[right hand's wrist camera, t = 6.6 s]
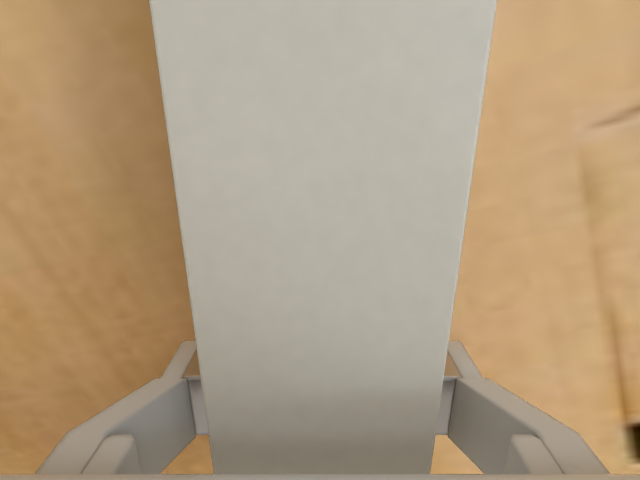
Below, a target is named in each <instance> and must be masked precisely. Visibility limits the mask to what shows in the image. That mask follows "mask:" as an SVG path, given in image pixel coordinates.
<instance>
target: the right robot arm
mask: <svg viewBox="0 0 640 480" xmlns="http://www.w3.org/2000/svg"><path fill="white" fill-rule="evenodd" d="M195 435H209V434H208V427H207V420H206V413H205V405H204V398H203V391H202V383H201V376H200V369H199V361H198V354H197V347H196V340H185V341H183V342H182V343H181V344H180V346H179V348H178V349H177V351H176V353H175V354H174V356H173V358H172V360H171V361H170V363H169V365H168V366H167V368H166V370H165V371H164V373H163V375H162V376H161V378H155V379H153V380H151V381H150V382H148V383H147V384H145V385H143V386H142V387H140V388H138V389H137V390H135V391H134V392H132V393H130V394H129V395H127V396H125V397H124V398H122V399H121V400H119V401H117V402H116V403H114V404H112V405H111V406H109V407H108V408H106V409H104V410H103V411H101V412H99V413H98V414H96V415H95V416H93V417H91V418H90V419H88V420H87V421H85V422H83V423H82V424H80V425H78V426H77V427H75V428H74V429H72V430H70V431H69V432H67V433H66V434H65V435H64V437H63V438H62V439H61V441H60V442H59V443H58V444H57V446H56V447H55V448H54V450H53V451H52V452H51V453H50V455H49V456H48V457H47V459H46V460H45V461H44V462H43V464H42V465H41V466H40V467H39V469H38V470H37V471H36V473H35V474H0V480H640V474H610V473H609V471H608V470H607V469H606V468H605V466H604V465H603V464H602V462H601V461H600V460H599V459H598V457H597V456H596V455H595V454H594V452H593V451H592V450H591V449H590V447H589V446H588V445H587V443H586V442H585V441H584V440H583V438H582V437H581V436H580V435H579V433H577V432H575V431H574V430H572V429H571V428H569V427H567V426H566V425H564V424H562V423H561V422H559V421H558V420H556V419H554V418H553V417H551V416H549V415H548V414H546V413H544V412H543V411H541V410H540V409H538V408H536V407H535V406H533V405H531V404H530V403H528V402H526V401H525V400H523V399H522V398H520V397H518V396H517V395H515V394H513V393H512V392H510V391H508V390H507V389H505V388H504V387H502V386H500V385H499V384H497V383H495V382H494V381H492V380H491V379H489V378H483V377H482V376H481V374H480V372H479V371H478V369H477V367H476V366H475V364H474V362H473V361H472V359H471V358H470V356H469V354H468V353H467V351H466V349H465V348H464V346H463V344H462V343H461V342H460V341H459V340H449V343H448V350H447V357H446V364H445V371H444V378H443V385H442V392H441V399H440V406H439V414H438V421H437V428H436V435H448V437H449V438H450V439H451V440H452V441H453V442H454V443H455V444H456V445H457V446H458V447H459V448H460V449H461V451H462V452H463V453H464V454H465V455H466V456H467V457H468V458H469V459H470V460H471V461H472V462H473V463H474V464H475V465H476V466H477V467H478V468H479V469H480V470H481V471H482V472H483V473H484V474H160V473H161V472H162V471H163V470H164V469H165V468H166V467H167V466H168V465H169V463H170V462H171V461H172V460H173V459H174V458H175V457H176V456H177V455H178V454H179V453H180V452H181V451H182V450H183V449H184V448H185V447H186V446H187V445H188V444H189V443H190V442H191V441H192V440H193V439H194V438H195V437H196V436H195Z"/></svg>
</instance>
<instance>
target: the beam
mask: <svg viewBox="0 0 640 480" xmlns="http://www.w3.org/2000/svg"><path fill="white" fill-rule="evenodd" d="M149 4H150V11H151V18H152V26H153V33H154V40H155V48H156V55H157V62H158V70H159V77H160V84H161V91H162V99H163V106H164V113H165V121H166V128H167V135H168V143H169V150H170V157H171V164H172V172H173V179H174V186H175V194H176V201H177V208H178V216H179V223H180V230H181V237H182V245H183V252H184V259H185V267H186V274H187V281H188V289H189V296H190V303H191V310H192V318H193V325H194V332H195V340H196V347H197V354H198V361H199V369H200V376H201V383H202V391H203V398H204V405H205V413H206V420H207V427H208V434H209V442H210V449H211V456H212V464H213V471H214V474H430V470H431V463H432V456H433V449H434V442H435V435H436V428H437V421H438V414H439V406H440V399H441V392H442V385H443V378H444V371H445V364H446V357H447V350H448V343H449V336H450V329H451V322H452V315H453V308H454V301H455V294H456V286H457V279H458V272H459V265H460V258H461V251H462V244H463V237H464V230H465V223H466V216H467V209H468V202H469V195H470V188H471V181H472V173H473V166H474V159H475V152H476V145H477V138H478V131H479V124H480V117H481V110H482V103H483V96H484V89H485V82H486V75H487V68H488V60H489V53H490V46H491V39H492V32H493V25H494V18H495V11H496V4H497V0H149Z"/></svg>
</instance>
